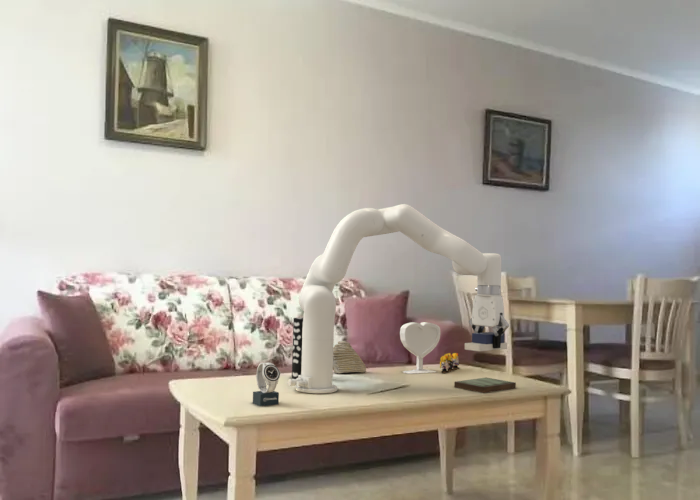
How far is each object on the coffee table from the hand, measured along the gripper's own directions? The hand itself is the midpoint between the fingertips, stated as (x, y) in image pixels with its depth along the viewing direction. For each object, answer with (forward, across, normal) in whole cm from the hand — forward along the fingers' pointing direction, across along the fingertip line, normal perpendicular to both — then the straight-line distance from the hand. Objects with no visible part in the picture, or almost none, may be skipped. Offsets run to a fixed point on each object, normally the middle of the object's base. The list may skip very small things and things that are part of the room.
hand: (488, 346), depth 218 cm
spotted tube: (+13, -45, -40) cm, 62 cm away
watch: (+13, -16, -74) cm, 77 cm away
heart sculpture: (+13, -35, +5) cm, 38 cm away
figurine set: (+13, -31, +17) cm, 38 cm away
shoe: (+1, 0, -1) cm, 1 cm away
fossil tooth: (+13, -47, -20) cm, 53 cm away
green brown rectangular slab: (+13, 0, -1) cm, 13 cm away
